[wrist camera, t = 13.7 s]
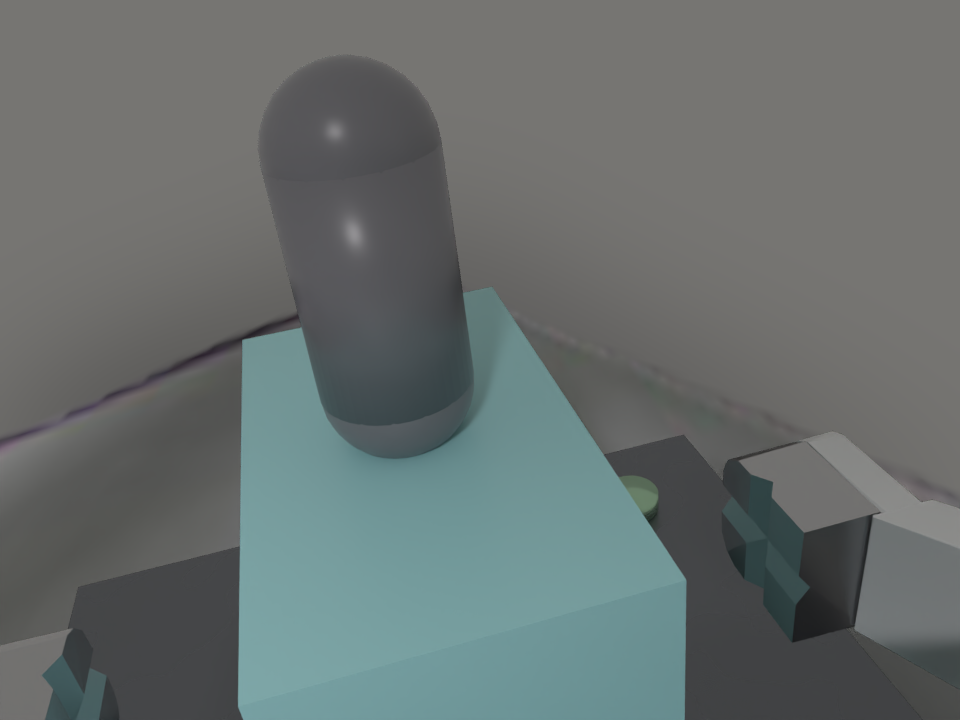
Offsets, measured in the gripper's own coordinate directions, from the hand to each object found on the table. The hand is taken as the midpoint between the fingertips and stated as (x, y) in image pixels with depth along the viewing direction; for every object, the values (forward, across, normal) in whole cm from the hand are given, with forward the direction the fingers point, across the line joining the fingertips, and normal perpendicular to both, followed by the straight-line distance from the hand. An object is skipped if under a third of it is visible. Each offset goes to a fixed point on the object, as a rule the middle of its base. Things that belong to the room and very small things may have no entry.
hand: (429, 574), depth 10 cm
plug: (0, 0, +8) cm, 8 cm away
